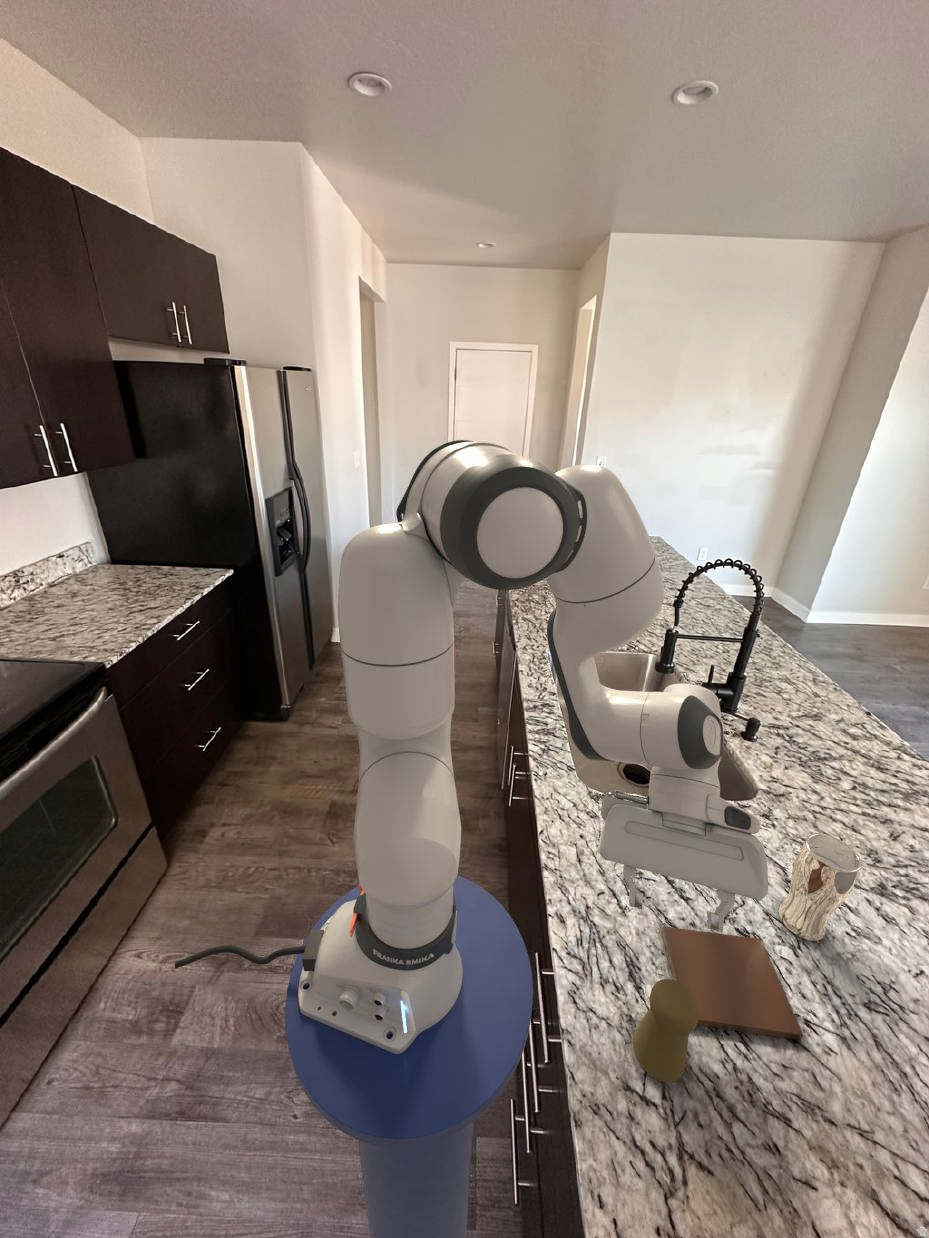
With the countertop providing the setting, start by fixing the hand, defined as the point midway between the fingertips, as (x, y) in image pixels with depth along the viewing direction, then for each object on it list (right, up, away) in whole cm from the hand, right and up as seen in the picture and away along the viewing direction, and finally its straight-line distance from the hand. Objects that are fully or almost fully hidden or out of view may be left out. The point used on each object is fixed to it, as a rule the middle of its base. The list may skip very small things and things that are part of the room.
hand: (674, 918), depth 62 cm
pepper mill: (-3, -15, -2) cm, 15 cm away
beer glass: (+25, -9, +14) cm, 30 cm away
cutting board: (+9, -12, +5) cm, 16 cm away
